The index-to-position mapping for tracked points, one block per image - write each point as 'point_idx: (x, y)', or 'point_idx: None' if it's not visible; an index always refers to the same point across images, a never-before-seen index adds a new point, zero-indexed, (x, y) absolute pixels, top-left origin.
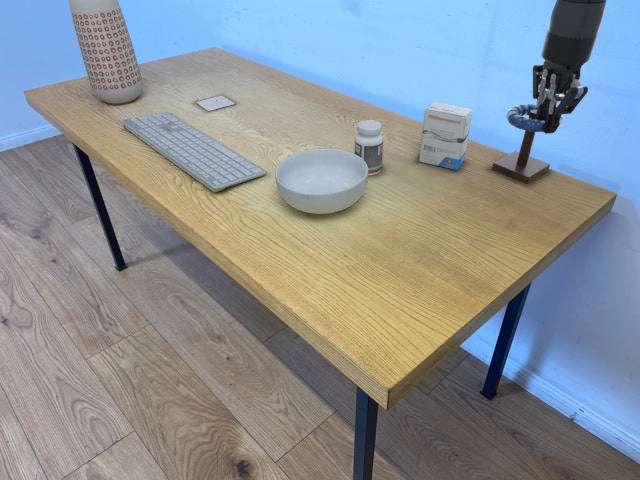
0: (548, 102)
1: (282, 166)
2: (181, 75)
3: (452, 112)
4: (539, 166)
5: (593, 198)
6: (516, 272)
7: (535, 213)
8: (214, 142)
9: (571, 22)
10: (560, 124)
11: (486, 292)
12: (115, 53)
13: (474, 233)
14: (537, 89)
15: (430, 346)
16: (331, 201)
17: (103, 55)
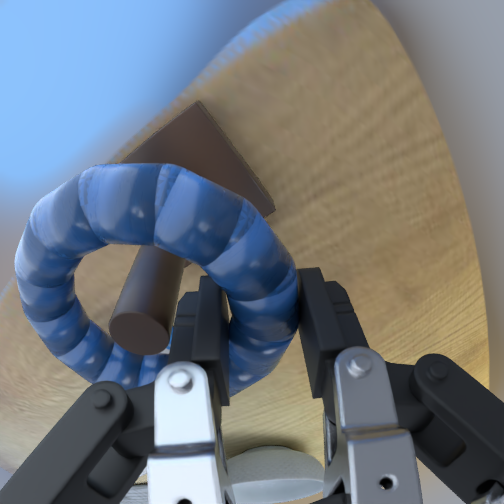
0: (216, 406)
1: (246, 500)
2: (3, 460)
3: (146, 467)
4: (209, 147)
5: (381, 58)
6: (482, 315)
7: (398, 238)
8: (142, 490)
9: None
10: (269, 228)
11: (481, 347)
12: None
13: (401, 346)
14: (131, 479)
15: (486, 383)
16: None
17: None
